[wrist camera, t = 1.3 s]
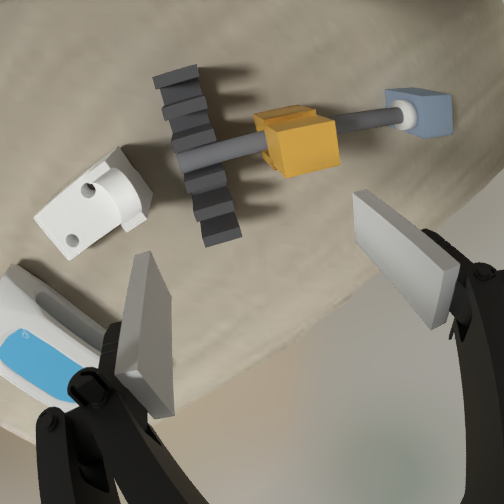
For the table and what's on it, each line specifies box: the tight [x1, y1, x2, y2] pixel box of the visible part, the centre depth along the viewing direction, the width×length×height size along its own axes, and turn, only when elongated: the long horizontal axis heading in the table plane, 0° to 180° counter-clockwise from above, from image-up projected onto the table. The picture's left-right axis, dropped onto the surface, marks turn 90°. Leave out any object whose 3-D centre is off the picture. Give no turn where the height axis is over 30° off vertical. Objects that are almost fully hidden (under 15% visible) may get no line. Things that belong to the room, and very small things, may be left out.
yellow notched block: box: [253, 105, 340, 178], centre depth 29 cm, size 5×5×9 cm
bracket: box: [33, 146, 153, 261], centre depth 31 cm, size 13×7×8 cm, turn 118°
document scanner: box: [0, 264, 107, 413], centre depth 42 cm, size 21×28×6 cm
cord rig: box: [152, 64, 453, 247], centre depth 32 cm, size 32×18×8 cm, turn 103°
